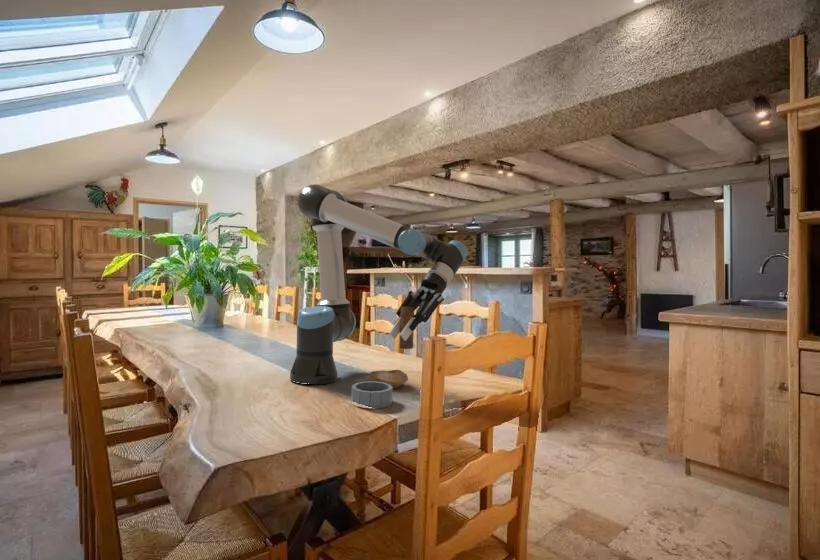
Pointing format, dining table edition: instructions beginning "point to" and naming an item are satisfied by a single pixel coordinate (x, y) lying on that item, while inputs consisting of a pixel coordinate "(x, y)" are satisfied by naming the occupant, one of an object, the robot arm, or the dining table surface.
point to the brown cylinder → (404, 319)
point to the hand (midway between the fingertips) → (397, 336)
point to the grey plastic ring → (372, 394)
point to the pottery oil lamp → (390, 377)
